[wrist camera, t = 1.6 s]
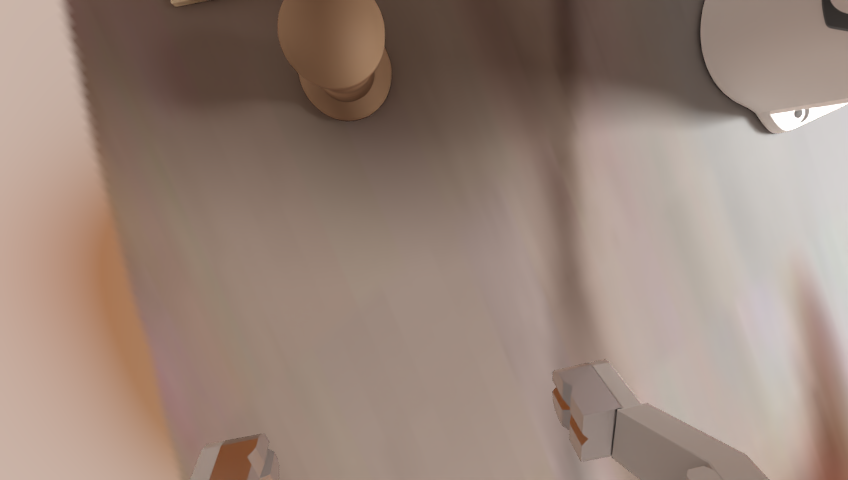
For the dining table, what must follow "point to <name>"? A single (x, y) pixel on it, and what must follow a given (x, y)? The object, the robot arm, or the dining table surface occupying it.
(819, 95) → the robot arm
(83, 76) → the dining table surface
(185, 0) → the peg rack
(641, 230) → the dining table surface
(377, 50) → the flanged spool
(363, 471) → the dining table surface
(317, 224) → the dining table surface
